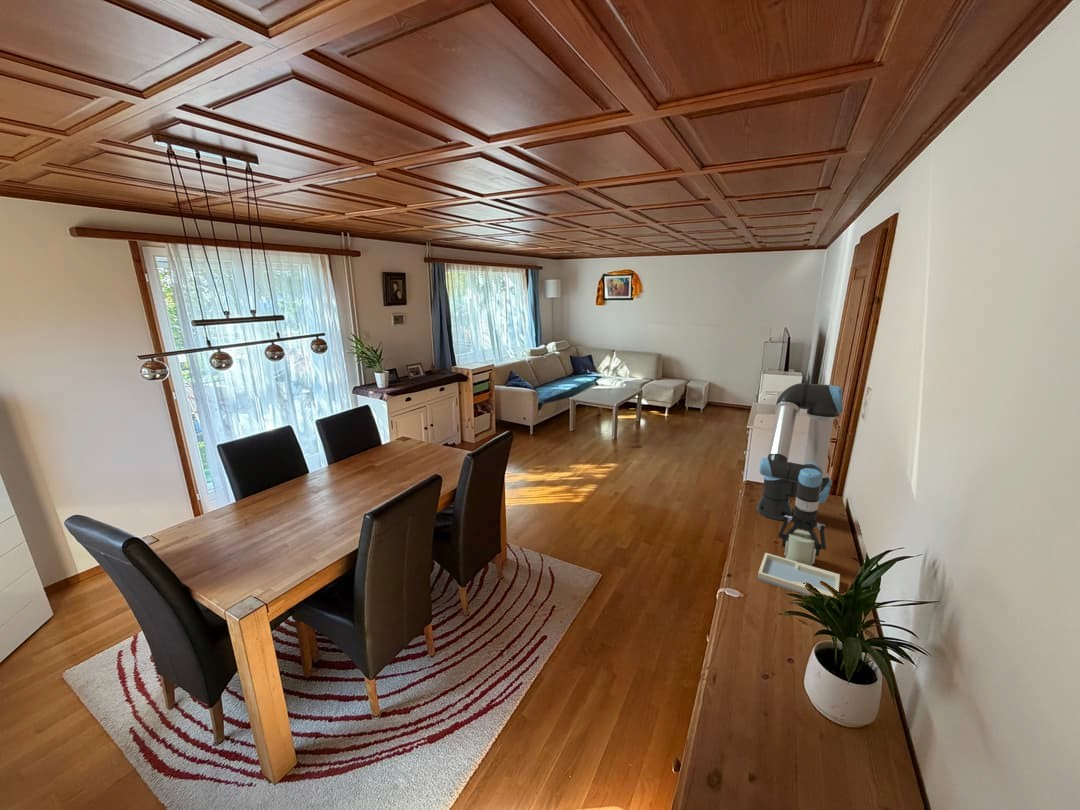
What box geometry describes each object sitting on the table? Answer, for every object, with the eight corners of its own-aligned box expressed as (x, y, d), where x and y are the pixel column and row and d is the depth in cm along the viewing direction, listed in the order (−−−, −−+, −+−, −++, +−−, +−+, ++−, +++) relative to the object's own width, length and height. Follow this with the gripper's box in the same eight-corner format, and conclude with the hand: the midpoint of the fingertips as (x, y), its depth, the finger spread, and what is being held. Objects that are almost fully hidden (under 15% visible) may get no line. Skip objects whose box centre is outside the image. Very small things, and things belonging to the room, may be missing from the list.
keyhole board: (764, 558, 172) (765, 552, 171) (838, 581, 157) (839, 574, 157) (757, 579, 160) (758, 572, 160) (836, 605, 146) (838, 598, 145)
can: (816, 568, 165) (820, 542, 161) (790, 566, 166) (793, 540, 163) (806, 554, 173) (810, 529, 170) (782, 552, 175) (785, 527, 172)
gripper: (773, 504, 167) (767, 553, 173) (839, 519, 154) (830, 572, 160) (776, 496, 173) (770, 544, 179) (840, 510, 160) (831, 561, 166)
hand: (799, 557), depth 169 cm, fingers closed on can, 9 cm apart
